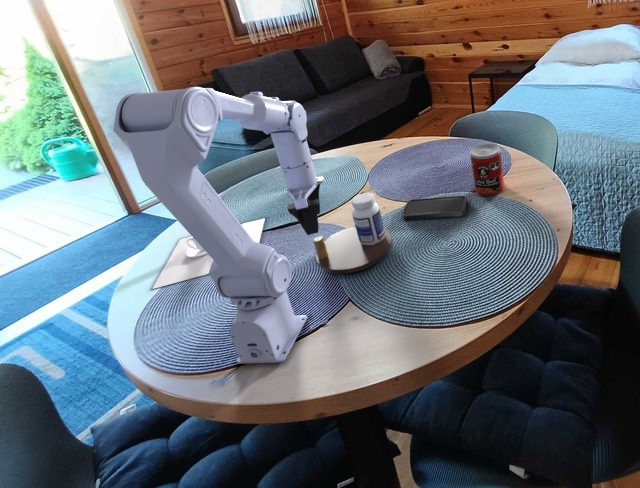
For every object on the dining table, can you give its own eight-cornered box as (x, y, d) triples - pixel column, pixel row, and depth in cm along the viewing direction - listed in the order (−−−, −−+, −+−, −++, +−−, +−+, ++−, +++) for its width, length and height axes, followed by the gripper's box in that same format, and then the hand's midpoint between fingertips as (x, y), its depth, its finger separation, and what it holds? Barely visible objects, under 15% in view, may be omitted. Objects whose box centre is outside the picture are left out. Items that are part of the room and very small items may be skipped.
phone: (408, 199, 109) (466, 195, 108) (408, 203, 110) (467, 199, 108) (401, 216, 102) (464, 211, 100) (402, 220, 102) (464, 216, 101)
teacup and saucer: (229, 234, 107) (224, 220, 105) (223, 251, 99) (217, 237, 98) (190, 244, 104) (184, 230, 103) (181, 263, 97) (174, 247, 96)
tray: (309, 280, 84) (301, 257, 82) (324, 235, 99) (318, 214, 97) (391, 265, 85) (386, 242, 83) (394, 223, 100) (389, 202, 98)
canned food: (471, 195, 110) (465, 156, 106) (479, 181, 117) (474, 143, 113) (500, 196, 108) (496, 156, 104) (507, 181, 115) (503, 143, 111)
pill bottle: (379, 228, 97) (370, 188, 93) (390, 238, 92) (381, 197, 89) (355, 238, 94) (344, 198, 90) (365, 249, 89) (355, 208, 86)
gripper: (316, 172, 77) (333, 236, 82) (319, 145, 90) (334, 202, 95) (274, 181, 75) (295, 246, 80) (283, 152, 88) (301, 210, 93)
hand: (313, 223), depth 87 cm, fingers open, 7 cm apart
